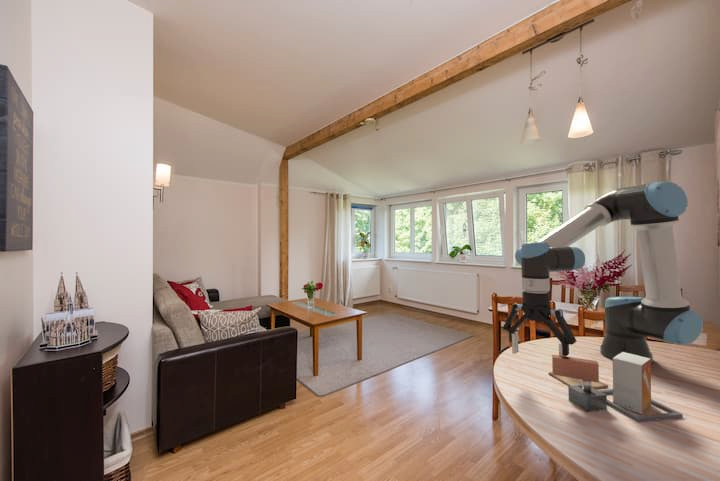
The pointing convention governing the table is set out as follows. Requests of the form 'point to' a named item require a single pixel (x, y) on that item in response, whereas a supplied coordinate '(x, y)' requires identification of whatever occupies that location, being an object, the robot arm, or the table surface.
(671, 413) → the seat rim
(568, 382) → the cork pad
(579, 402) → the key housing
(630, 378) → the small box
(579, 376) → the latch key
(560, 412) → the table surface
